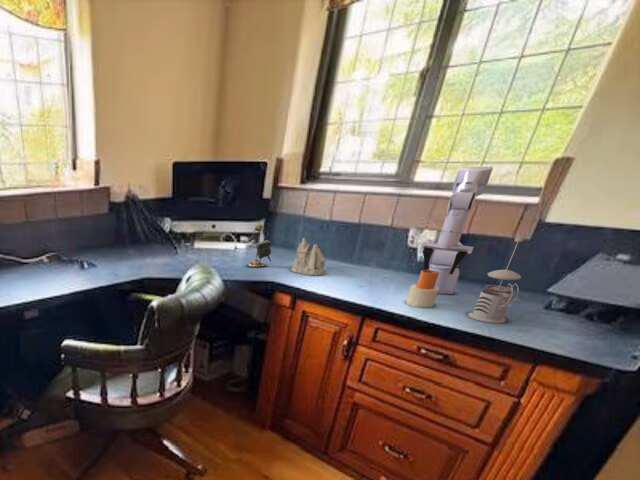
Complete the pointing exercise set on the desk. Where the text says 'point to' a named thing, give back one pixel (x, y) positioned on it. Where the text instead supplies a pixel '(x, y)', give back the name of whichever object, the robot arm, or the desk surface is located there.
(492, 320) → the french press
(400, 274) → the desk surface
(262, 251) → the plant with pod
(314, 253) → the ceramic cottage
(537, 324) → the desk surface
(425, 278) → the cup
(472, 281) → the desk surface
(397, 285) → the desk surface
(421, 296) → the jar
